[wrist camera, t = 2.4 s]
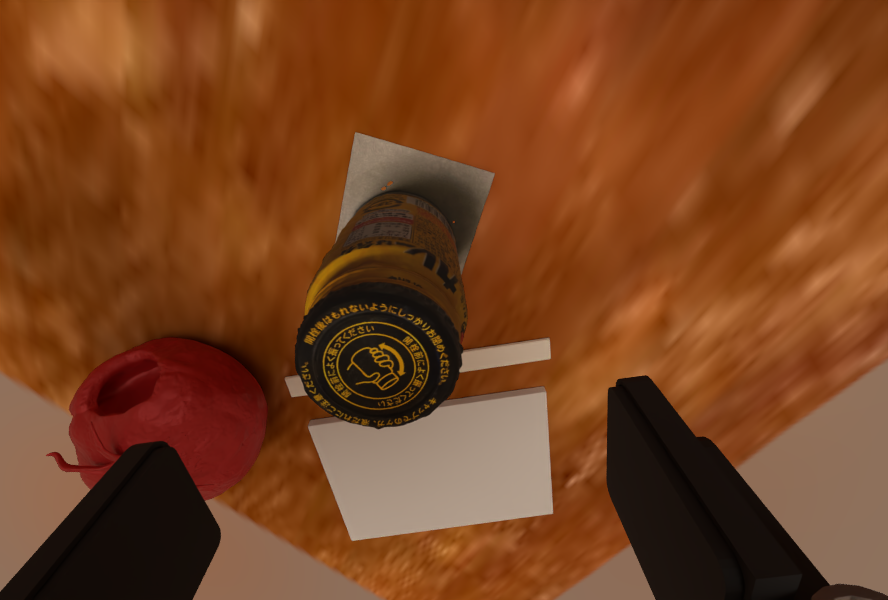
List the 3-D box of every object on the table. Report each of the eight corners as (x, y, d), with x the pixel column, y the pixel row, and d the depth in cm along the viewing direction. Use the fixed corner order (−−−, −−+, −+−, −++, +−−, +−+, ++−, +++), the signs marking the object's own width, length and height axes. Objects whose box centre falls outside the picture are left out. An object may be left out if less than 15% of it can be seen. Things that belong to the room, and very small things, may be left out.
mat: (309, 420, 29) (307, 426, 28) (543, 386, 28) (546, 391, 28) (353, 533, 34) (352, 540, 34) (551, 506, 34) (553, 513, 33)
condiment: (328, 282, 25) (251, 430, 14) (355, 131, 21) (282, 172, 10) (448, 311, 26) (465, 468, 15) (494, 172, 22) (557, 247, 11)
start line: (285, 377, 27) (284, 378, 27) (548, 337, 27) (549, 339, 26) (292, 395, 28) (291, 397, 28) (549, 357, 27) (550, 359, 27)
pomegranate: (313, 383, 28) (265, 509, 19) (226, 465, 30) (151, 606, 22) (174, 287, 24) (42, 388, 16) (91, 388, 27) (-57, 520, 19)
